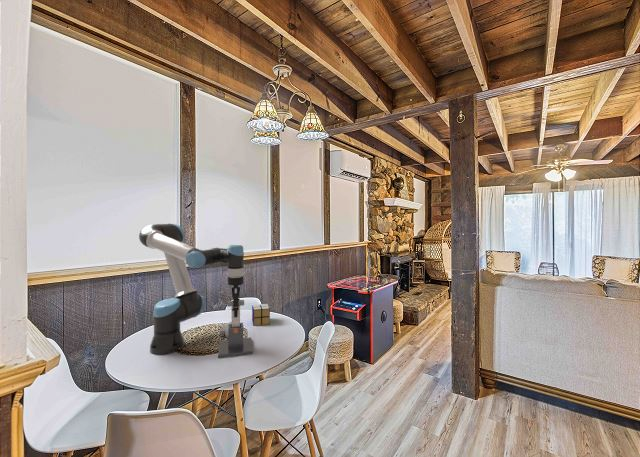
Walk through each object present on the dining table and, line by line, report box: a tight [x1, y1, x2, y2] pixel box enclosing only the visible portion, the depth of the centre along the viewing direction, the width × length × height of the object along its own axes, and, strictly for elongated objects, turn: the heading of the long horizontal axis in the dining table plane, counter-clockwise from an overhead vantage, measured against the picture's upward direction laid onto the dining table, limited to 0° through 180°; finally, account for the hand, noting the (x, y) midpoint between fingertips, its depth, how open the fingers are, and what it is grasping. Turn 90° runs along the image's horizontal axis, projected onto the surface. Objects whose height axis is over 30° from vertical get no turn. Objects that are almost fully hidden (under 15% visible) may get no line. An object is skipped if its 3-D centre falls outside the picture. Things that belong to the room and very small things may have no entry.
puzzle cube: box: [251, 303, 271, 327], centre depth 179 cm, size 10×10×10 cm
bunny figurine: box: [218, 321, 232, 339], centre depth 162 cm, size 10×5×15 cm
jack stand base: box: [217, 322, 254, 359], centre depth 143 cm, size 16×16×12 cm
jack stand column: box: [226, 299, 245, 328], centre depth 143 cm, size 8×4×22 cm, turn 106°
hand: (235, 318), depth 143 cm, fingers open, 13 cm apart
